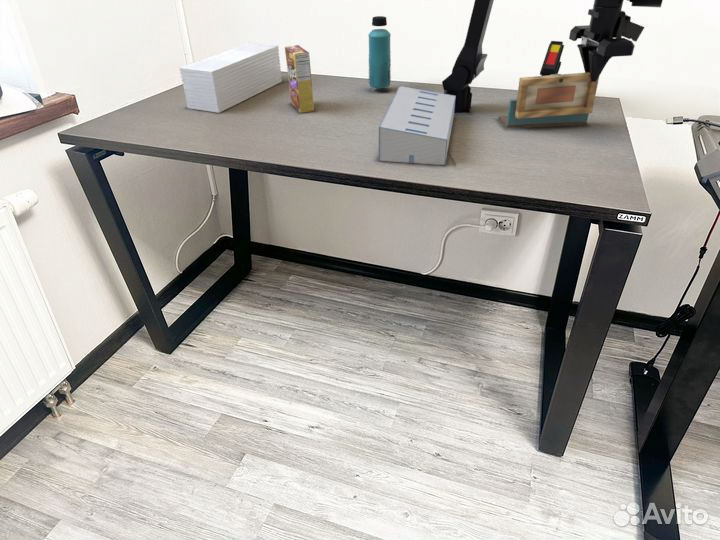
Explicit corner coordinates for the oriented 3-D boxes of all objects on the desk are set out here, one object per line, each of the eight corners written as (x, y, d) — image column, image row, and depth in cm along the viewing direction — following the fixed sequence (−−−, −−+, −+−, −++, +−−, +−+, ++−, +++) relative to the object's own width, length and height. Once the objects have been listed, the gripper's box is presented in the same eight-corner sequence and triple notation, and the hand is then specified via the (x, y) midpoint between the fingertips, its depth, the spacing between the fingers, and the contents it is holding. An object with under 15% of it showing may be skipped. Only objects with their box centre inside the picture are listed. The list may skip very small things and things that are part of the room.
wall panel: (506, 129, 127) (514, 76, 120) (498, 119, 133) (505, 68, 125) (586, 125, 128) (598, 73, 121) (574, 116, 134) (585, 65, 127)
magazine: (557, 86, 149) (564, 40, 137) (547, 119, 144) (554, 74, 131) (544, 85, 151) (550, 39, 138) (533, 117, 145) (538, 73, 133)
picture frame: (517, 119, 123) (522, 80, 118) (514, 116, 125) (519, 77, 119) (592, 113, 124) (600, 74, 118) (588, 110, 125) (596, 71, 120)
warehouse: (445, 165, 110) (448, 130, 106) (378, 160, 113) (378, 126, 109) (453, 117, 134) (456, 88, 130) (398, 115, 137) (399, 85, 132)
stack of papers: (253, 78, 168) (249, 42, 162) (281, 81, 164) (278, 45, 158) (187, 108, 144) (179, 67, 138) (218, 113, 140) (211, 71, 134)
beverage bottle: (390, 93, 152) (392, 18, 141) (368, 93, 152) (367, 19, 141) (390, 86, 158) (391, 14, 146) (368, 87, 158) (367, 14, 146)
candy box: (289, 104, 146) (284, 46, 137) (304, 101, 147) (299, 44, 138) (299, 113, 139) (294, 53, 130) (314, 111, 140) (310, 51, 132)
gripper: (669, 10, 104) (646, 89, 113) (622, -3, 119) (605, 67, 128) (615, 13, 103) (596, 92, 112) (575, -1, 119) (561, 70, 128)
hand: (591, 80), depth 120 cm, fingers closed on picture frame, 2 cm apart
